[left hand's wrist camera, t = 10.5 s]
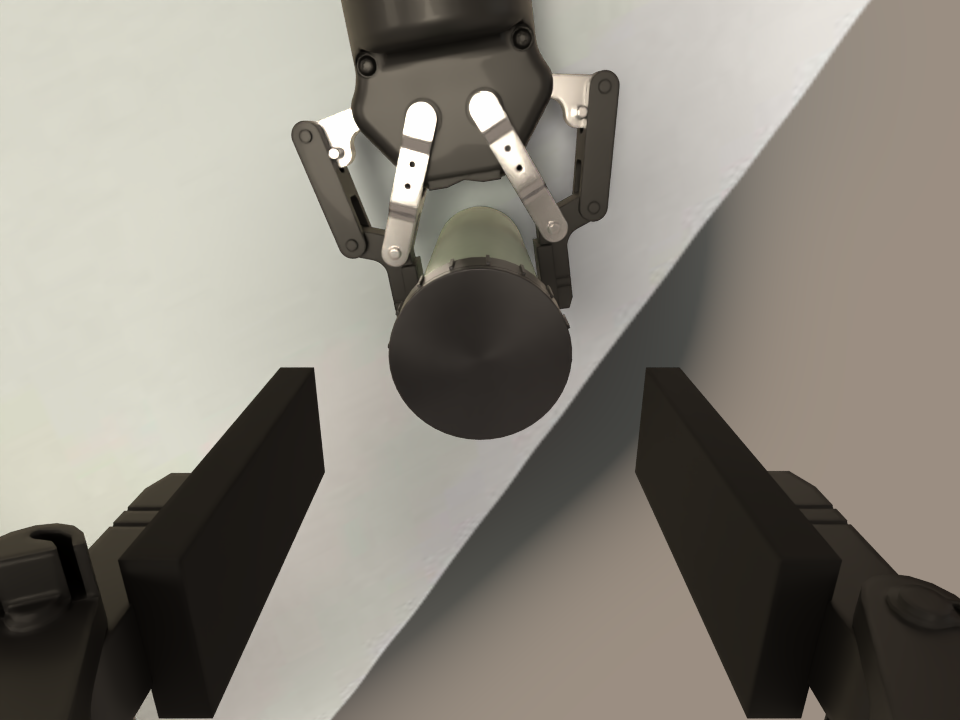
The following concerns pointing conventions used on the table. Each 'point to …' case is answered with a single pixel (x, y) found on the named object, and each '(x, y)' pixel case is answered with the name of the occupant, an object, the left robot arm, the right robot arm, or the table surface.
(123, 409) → the table surface
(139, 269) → the table surface
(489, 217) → the bottle
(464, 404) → the lid
